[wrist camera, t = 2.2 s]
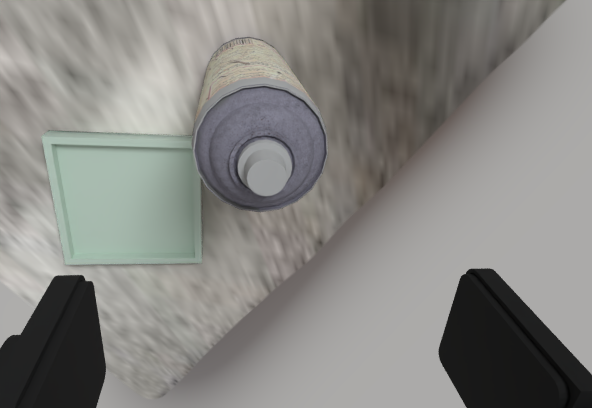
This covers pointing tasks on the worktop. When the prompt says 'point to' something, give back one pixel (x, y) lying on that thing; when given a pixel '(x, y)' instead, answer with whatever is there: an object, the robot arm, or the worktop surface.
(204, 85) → the aerosol can
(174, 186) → the tray
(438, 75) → the worktop surface
